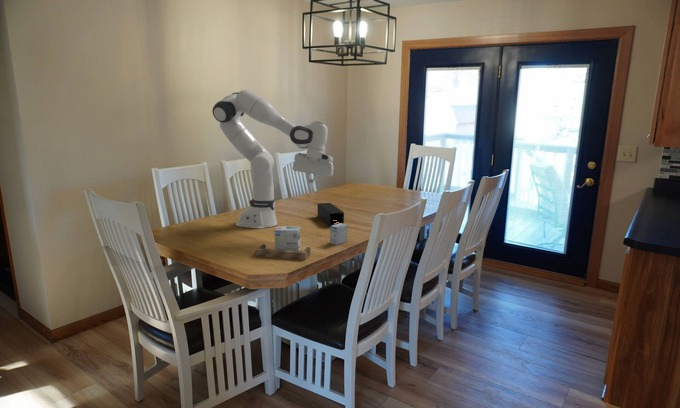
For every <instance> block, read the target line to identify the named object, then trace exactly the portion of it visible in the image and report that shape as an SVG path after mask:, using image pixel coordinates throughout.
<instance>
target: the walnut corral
mask: <svg viewBox="0 0 680 408" xmlns="http://www.w3.org/2000/svg"><path fill="white" fill-rule="evenodd" d="M266 247H267V246H266V244H263V243H262V244H261V245H260V246H258V247H257V248H256V249H255V256H256V257H259V258H261V257H262V258H273V259H274V258H275V259H285V260H286V259H288V260H300V261H305V260H307V259H308V258H309V257H310V255H311V247H309V246H307V247H305V249H304V250H303V251H301V250H300V251H289V250H275V248H273V249H272V248H266Z"/></svg>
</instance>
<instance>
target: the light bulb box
mask: <svg viewBox="0 0 680 408" xmlns="http://www.w3.org/2000/svg"><path fill="white" fill-rule="evenodd" d="M300 230H301V226H297V225H296V226H293V225H292V226H285V225H283V226H279V225H278V226H277V225H276V227H275V229H274V249H275V250H289V251H301V231H300Z"/></svg>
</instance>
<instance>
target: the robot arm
mask: <svg viewBox="0 0 680 408" xmlns="http://www.w3.org/2000/svg"><path fill="white" fill-rule="evenodd" d="M212 115H213V117H214V119H215V120H216V121H217V122H219V127H220V129H221V131H222V133H223V134H224V135H225V137H226V139H228V141H229V142H230V143H231V144H232V146H233V147H234V148H235V149H236V150H237V151H238V152H239V154H240V155H242V156H243V157H244V158H245V159H246V160H247V161H248V162H249V163H250V173H251V181H252V194H253V195H252V196H253V197H252V199H251V200H250V201H249V202H248V204H250V205H249V207H246V209H244V210H243V211H242V212H241V214H240V216H239V220H238V221H236V222H235V226H236V227H241V228H251V229H256V230H257V229H264V228H271V227H275V226H277V225H278V220H277V217H276V216H277V215H276V210H275V209H276V199H275V190H274V189H275V187H274V185H275V184H274V177H273V167H274V164H275V160H274V157H273V156H272V155H271V153H270V152H269V151H268V150H267V149H266V148H265V147H264V146H263V144H261V143H260V142H259V140H258V139H256V138H255V136H254V135H253V134H252V133H251V132H250V131H249V129H248V128H247V127H246V126H245V125H244V123H243V122H242V121H241V117H244V115H247V116H248V117H250V118H251V119H253V120H255V121H257V122H260V123H261V124H264V125H266V126H269V127H273V128H274V129H277V130H279V131H280V132H281V133H283V134H284V135H287V136H288V137H289V138H290V140H291V142H292V143H293V144H294V145H296V147H298V148H299V149H306V153H302V152H298V153H296V154H295V155H294V162H293V165H292V170H293V171H295V172H299V173H306V178H307V183H309V184H315V181H316V179H317V178H318V176H324V177H328V178H329V177H332V176H334V167H335V166H334V163H333V162H334V157H332V156H331V155H329V154H328V153H326V144H327V142H328V133H329V131H328V130H329V128H328V126H327V125H326V124H325V123H323V122H321V121H317V120H316V121H315V120H314V121H312V122H310V123H307V124H302V125H294V124H293V123H291V122H290V121H289V120H287V119H286V118H285V117H283V115H281V114H280V113H279V112H278V111H277V109H276V108H275V107H274V106H273V105H272V104H271V103H270V102H269V101H268V100H266V99H264V97H262V96H260V95H258V94H257V93H254V92H253V91H249V90H247V89H243V90H240V91H239V92H233V93H231V94H229V95H226V96H225V97H223V98H222V99H221V100H220V101H217V102H216V103H215V104H214V105H213V108H212ZM311 175H313V178H312V179H311V178H310V177H311Z"/></svg>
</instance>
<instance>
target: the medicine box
mask: <svg viewBox="0 0 680 408" xmlns="http://www.w3.org/2000/svg"><path fill="white" fill-rule="evenodd" d="M329 241H330V242H329V244H331V245H334V246H338V245H341V244H343V243H347V242H348V224H346V223H344V224H343V223H339V224H335V225H332V226H329Z"/></svg>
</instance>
